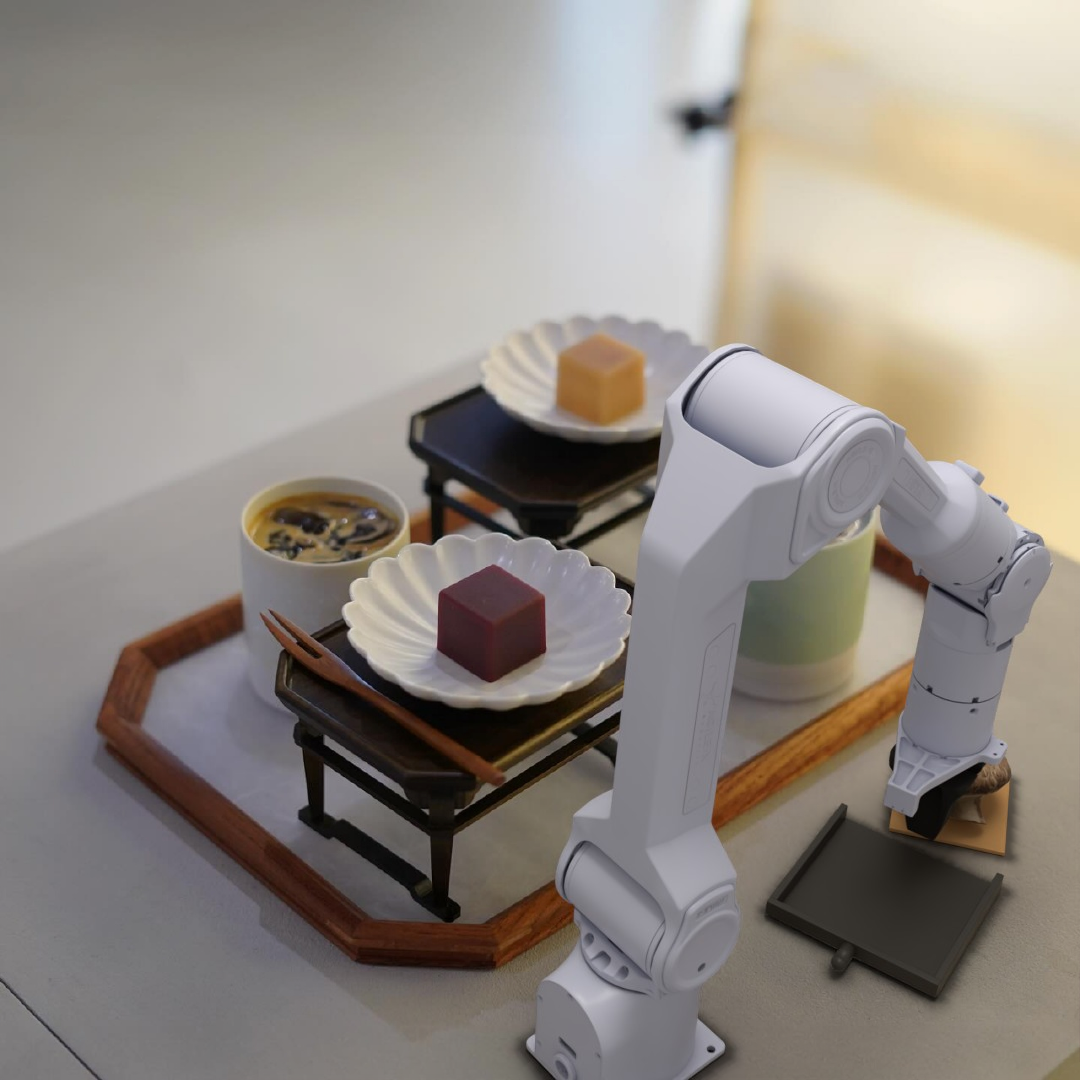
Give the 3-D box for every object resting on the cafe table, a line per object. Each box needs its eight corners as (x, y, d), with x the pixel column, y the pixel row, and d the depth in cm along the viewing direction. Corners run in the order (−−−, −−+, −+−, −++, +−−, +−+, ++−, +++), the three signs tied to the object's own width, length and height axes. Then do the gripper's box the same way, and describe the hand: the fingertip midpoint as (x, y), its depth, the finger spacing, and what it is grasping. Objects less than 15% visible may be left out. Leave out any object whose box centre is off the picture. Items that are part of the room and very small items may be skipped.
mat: (1004, 856, 106) (1004, 853, 106) (888, 830, 108) (889, 827, 108) (1009, 781, 113) (1010, 778, 112) (900, 758, 114) (900, 755, 114)
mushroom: (1019, 830, 103) (999, 740, 103) (902, 847, 106) (882, 759, 106) (1023, 805, 111) (1004, 721, 111) (914, 822, 113) (895, 739, 114)
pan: (838, 818, 109) (841, 802, 108) (1000, 891, 103) (1004, 875, 102) (749, 936, 100) (752, 919, 99) (921, 1023, 94) (925, 1006, 93)
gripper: (975, 761, 91) (937, 919, 98) (1056, 642, 101) (1016, 794, 108) (866, 716, 94) (838, 872, 102) (955, 605, 104) (923, 755, 112)
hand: (923, 829), depth 105 cm, fingers closed
